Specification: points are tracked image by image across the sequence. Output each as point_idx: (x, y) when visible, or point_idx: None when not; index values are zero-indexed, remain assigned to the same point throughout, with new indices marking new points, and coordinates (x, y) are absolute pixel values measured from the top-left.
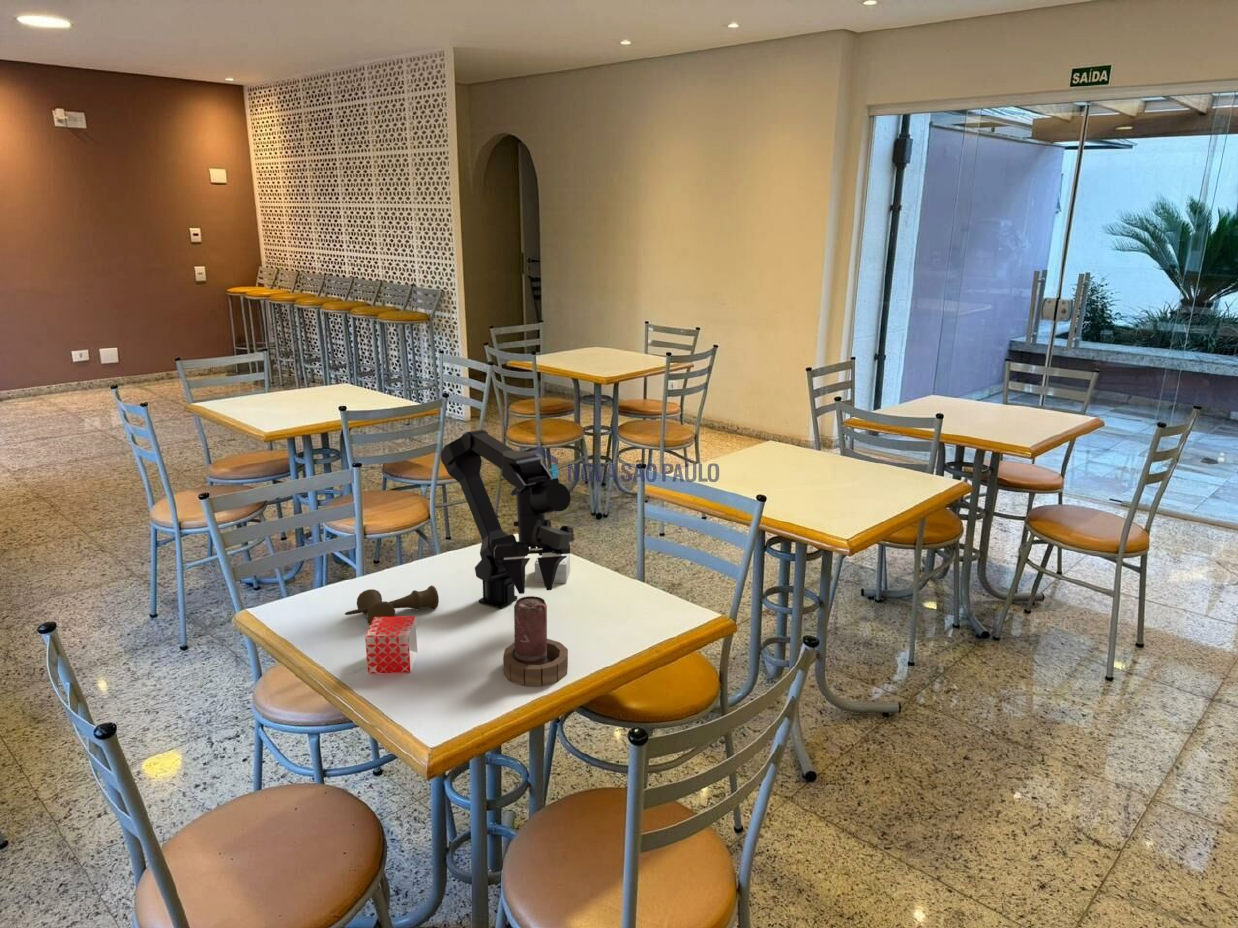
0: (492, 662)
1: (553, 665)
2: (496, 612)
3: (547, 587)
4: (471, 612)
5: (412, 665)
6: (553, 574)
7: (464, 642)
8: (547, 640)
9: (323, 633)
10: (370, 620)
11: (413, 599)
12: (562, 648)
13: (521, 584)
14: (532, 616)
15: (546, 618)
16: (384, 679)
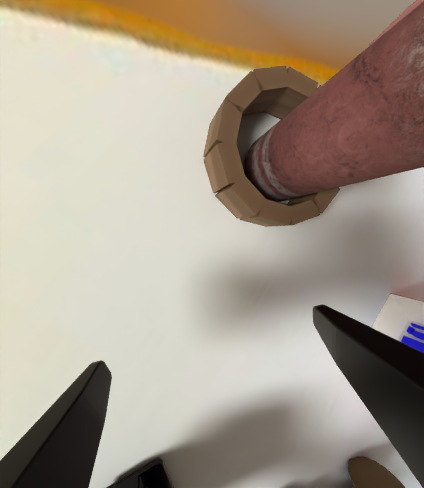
0: (302, 241)
1: (295, 71)
2: (178, 441)
3: (105, 383)
4: (221, 462)
5: (381, 311)
6: (23, 459)
7: (297, 339)
8: (234, 175)
9: (409, 469)
10: (390, 473)
11: None
12: (232, 112)
13: (370, 330)
14: None
15: (393, 21)
16: (414, 297)
